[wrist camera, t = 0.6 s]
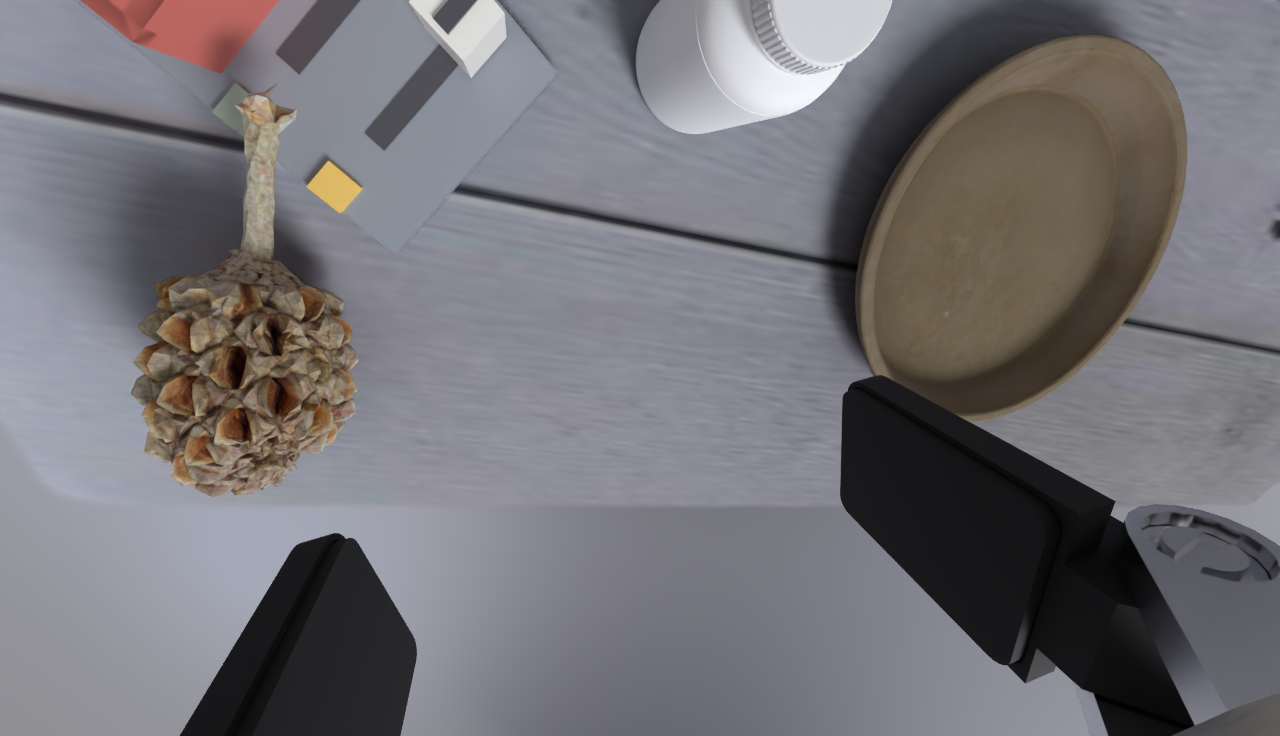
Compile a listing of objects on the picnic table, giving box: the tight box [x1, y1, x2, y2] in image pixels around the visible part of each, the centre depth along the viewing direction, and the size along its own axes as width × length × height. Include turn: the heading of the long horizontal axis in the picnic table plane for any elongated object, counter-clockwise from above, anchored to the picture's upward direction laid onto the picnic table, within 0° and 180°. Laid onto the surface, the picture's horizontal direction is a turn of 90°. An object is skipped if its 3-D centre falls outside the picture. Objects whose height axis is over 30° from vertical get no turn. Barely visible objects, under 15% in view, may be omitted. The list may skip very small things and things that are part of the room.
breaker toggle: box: [409, 0, 507, 78], centre depth 23 cm, size 3×3×4 cm
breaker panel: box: [74, 0, 558, 255], centre depth 22 cm, size 15×18×6 cm
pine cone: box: [131, 83, 359, 497], centre depth 24 cm, size 22×10×10 cm, turn 168°
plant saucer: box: [855, 34, 1187, 423], centre depth 39 cm, size 31×31×5 cm
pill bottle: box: [636, 0, 892, 134], centre depth 23 cm, size 8×8×15 cm
